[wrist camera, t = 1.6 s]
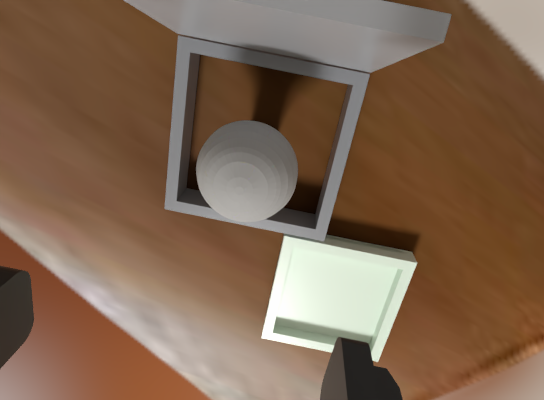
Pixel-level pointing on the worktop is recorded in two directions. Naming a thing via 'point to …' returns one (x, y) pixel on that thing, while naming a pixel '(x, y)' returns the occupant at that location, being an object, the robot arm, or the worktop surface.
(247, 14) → the lid
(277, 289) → the tray
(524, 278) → the worktop surface
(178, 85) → the case
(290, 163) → the light bulb
